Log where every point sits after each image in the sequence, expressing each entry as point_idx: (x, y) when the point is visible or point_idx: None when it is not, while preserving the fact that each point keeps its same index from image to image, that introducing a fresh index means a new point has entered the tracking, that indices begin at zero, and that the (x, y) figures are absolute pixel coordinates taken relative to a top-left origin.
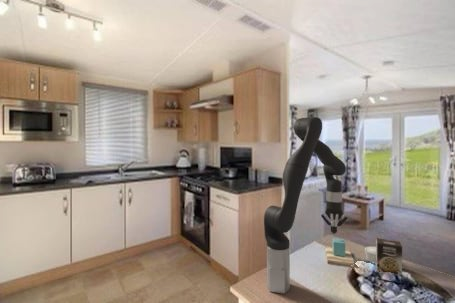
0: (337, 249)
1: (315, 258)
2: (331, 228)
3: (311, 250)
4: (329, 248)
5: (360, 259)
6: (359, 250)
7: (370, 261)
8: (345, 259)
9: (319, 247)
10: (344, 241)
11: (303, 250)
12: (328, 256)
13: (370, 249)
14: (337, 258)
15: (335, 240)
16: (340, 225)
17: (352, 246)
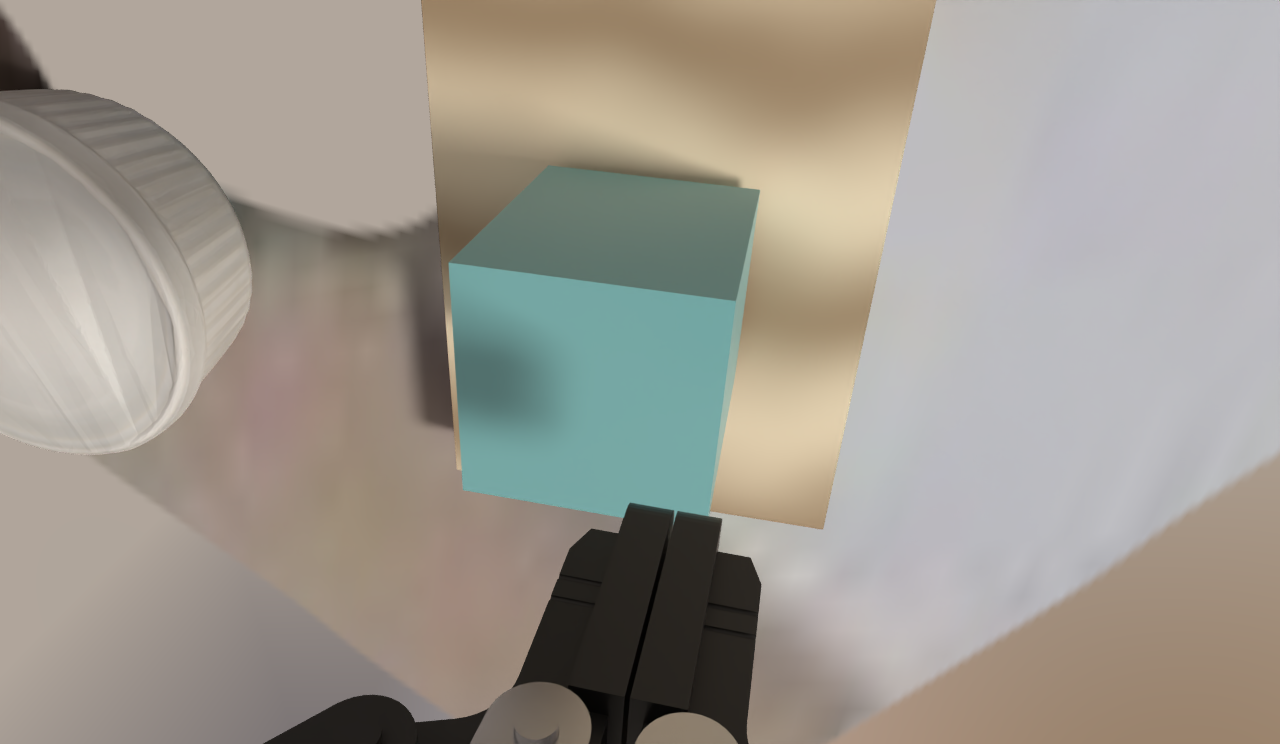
0: (668, 222)
1: (1120, 151)
2: (733, 665)
3: (1077, 457)
4: (765, 463)
5: (343, 247)
6: (340, 511)
7: (202, 168)
8: (565, 58)
9: (892, 562)
10: (458, 368)
11: (1244, 445)
12: (876, 132)
13: (111, 356)
14: (711, 74)
15: (664, 402)
16: (339, 717)
17: (415, 607)
